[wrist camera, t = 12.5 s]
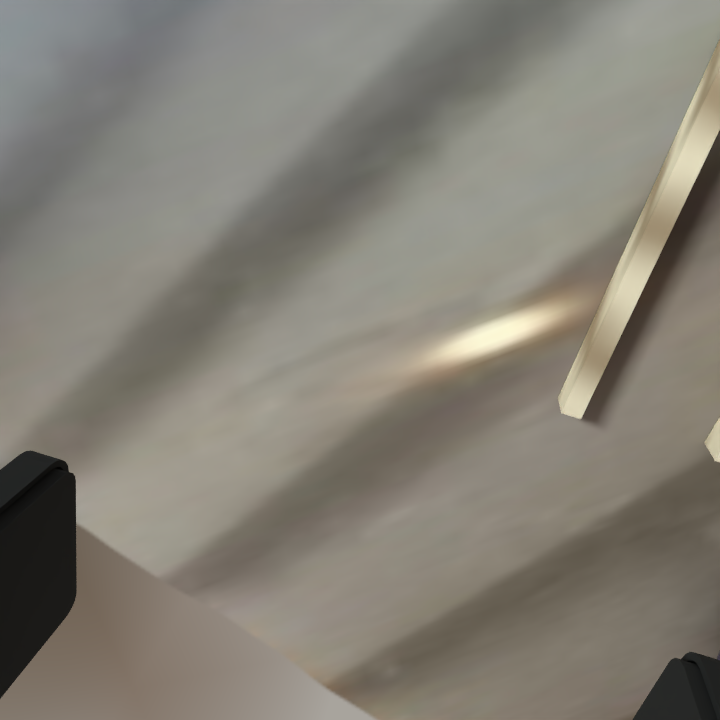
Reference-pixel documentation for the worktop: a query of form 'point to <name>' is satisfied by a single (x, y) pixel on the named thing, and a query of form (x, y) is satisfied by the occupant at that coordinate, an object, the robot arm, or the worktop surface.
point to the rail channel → (648, 246)
